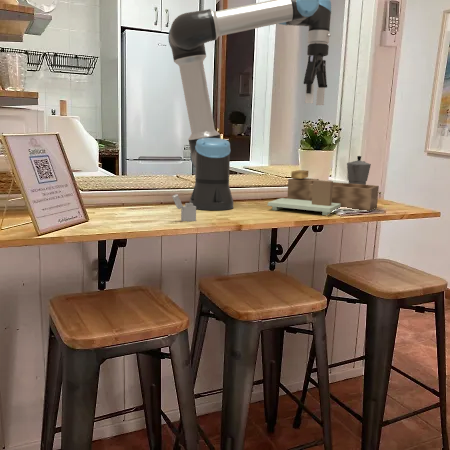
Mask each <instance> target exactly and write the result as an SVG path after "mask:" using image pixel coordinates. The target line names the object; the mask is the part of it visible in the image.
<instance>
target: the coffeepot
mask: <svg viewBox="0 0 450 450" xmlns="http://www.w3.org/2000/svg"><path fill="white" fill-rule="evenodd" d="M361 159H362V156H360V155H358V156H357V159H356V160H353V161H350V162H346V168H347V169H346V171H347V180H348V183H349V184H363V185H367V181H368V178H369V175H370V169H371V163H368V162H366V161H365V160H364V161H362V160H361Z"/></svg>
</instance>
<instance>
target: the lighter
mask: <svg viewBox="0 0 450 450" xmlns="http://www.w3.org/2000/svg"><path fill="white" fill-rule="evenodd" d="M171 197H172V200H173V202H174V205H175V206H176V209H178V210H180V211H181V212H180V222H183V221H187V222H197V209H196V206H193V203H190V202H185V205H183V204H182V201H181V199H180V196H179V194H177V193H175V194H173V195H171Z"/></svg>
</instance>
